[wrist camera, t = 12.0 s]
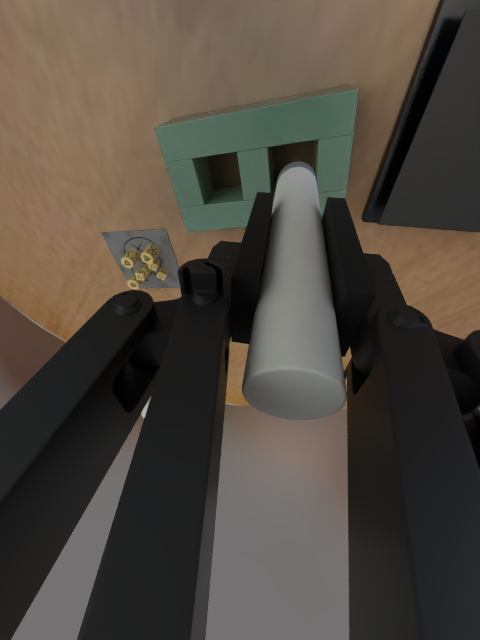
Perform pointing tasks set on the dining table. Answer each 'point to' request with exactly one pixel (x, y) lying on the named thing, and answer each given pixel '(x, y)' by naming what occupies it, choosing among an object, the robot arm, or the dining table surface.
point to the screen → (445, 147)
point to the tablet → (417, 100)
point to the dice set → (144, 258)
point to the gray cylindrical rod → (295, 311)
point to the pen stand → (256, 152)
